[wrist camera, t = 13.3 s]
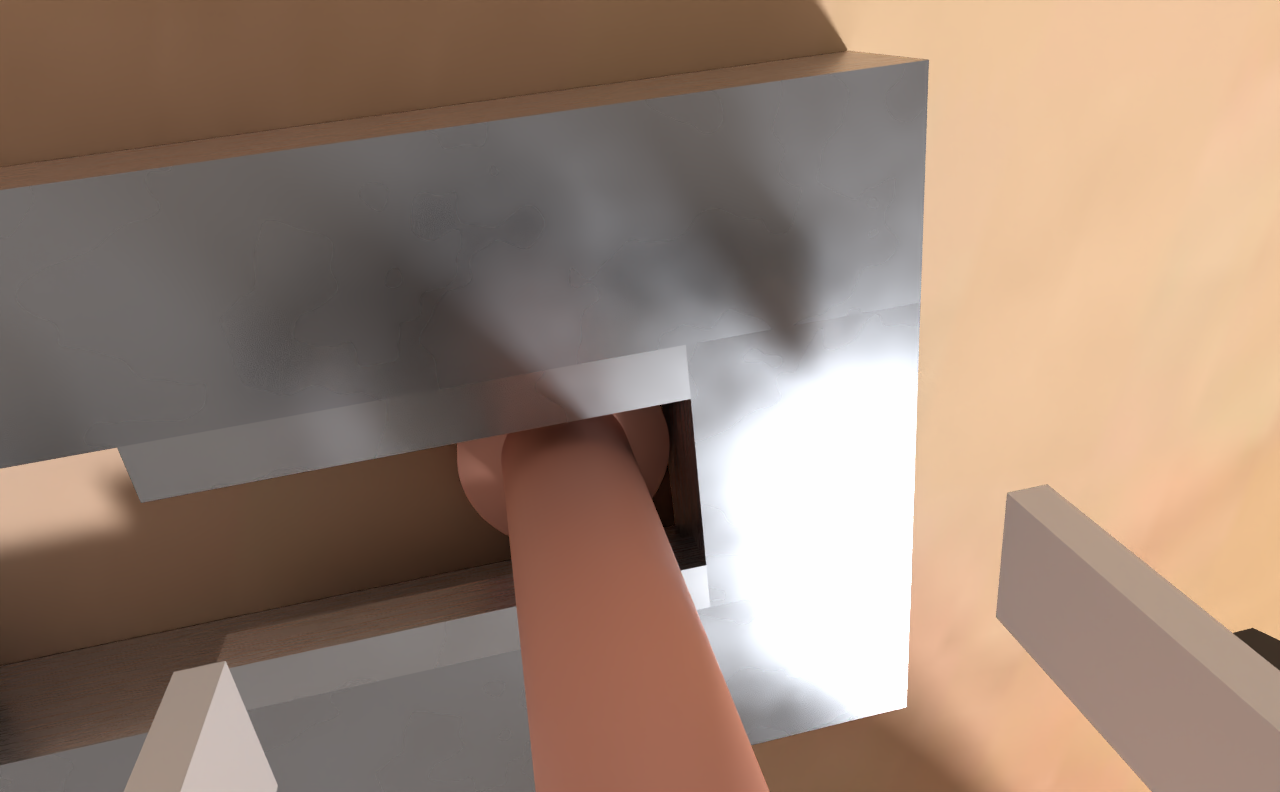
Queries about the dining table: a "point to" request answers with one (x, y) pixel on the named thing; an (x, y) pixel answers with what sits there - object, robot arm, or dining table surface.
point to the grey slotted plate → (489, 389)
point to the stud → (606, 612)
